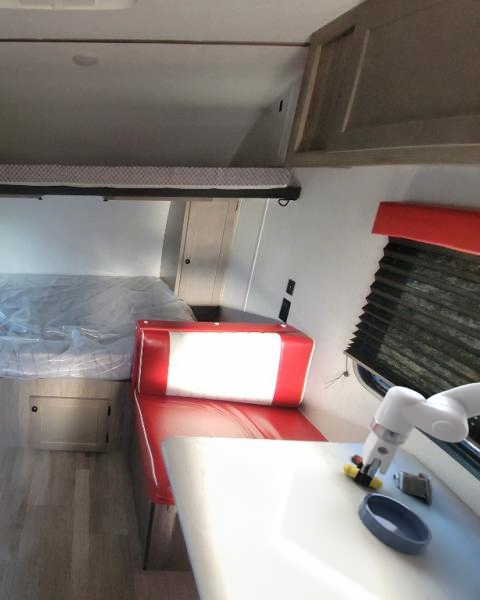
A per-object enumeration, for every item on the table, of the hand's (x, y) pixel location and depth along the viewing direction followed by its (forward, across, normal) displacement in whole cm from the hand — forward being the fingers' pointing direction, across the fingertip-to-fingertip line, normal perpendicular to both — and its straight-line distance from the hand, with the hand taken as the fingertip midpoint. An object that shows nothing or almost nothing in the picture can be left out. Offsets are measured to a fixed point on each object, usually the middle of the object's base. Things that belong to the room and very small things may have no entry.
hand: (360, 479), depth 96 cm
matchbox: (+1, +9, 0) cm, 9 cm away
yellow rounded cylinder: (-1, 0, 0) cm, 1 cm away
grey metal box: (+1, +9, -11) cm, 14 cm away
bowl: (+1, -13, -6) cm, 14 cm away
